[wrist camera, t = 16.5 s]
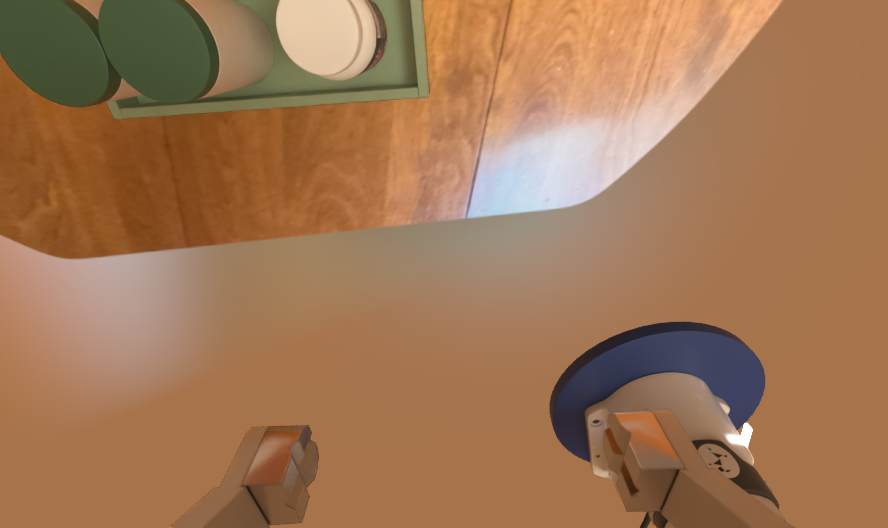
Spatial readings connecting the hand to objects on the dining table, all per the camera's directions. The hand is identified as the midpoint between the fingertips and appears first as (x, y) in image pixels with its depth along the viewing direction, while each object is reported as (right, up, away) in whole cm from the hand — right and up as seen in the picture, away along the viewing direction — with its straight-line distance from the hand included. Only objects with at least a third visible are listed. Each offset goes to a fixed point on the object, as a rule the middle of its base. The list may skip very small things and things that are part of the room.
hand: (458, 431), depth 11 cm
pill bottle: (-8, +23, +20) cm, 31 cm away
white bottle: (-17, +22, +20) cm, 34 cm away
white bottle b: (-23, +22, +20) cm, 38 cm away
